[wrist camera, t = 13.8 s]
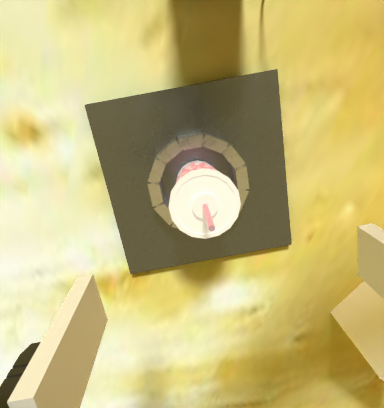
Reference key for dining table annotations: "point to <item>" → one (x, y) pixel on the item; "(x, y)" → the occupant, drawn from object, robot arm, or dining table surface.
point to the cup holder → (187, 152)
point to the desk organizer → (364, 324)
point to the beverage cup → (203, 201)
